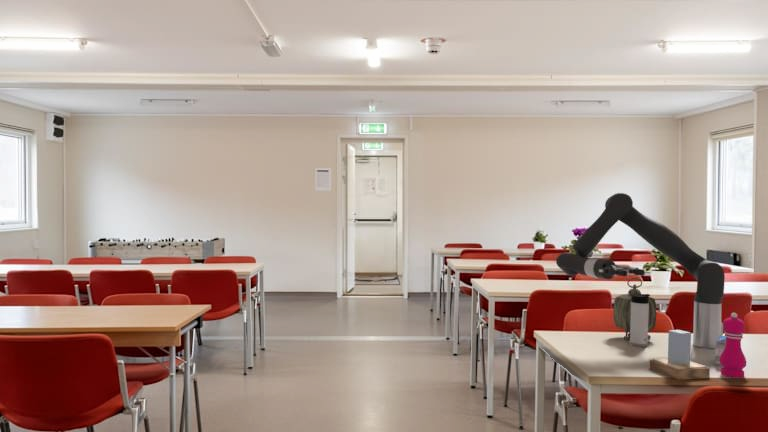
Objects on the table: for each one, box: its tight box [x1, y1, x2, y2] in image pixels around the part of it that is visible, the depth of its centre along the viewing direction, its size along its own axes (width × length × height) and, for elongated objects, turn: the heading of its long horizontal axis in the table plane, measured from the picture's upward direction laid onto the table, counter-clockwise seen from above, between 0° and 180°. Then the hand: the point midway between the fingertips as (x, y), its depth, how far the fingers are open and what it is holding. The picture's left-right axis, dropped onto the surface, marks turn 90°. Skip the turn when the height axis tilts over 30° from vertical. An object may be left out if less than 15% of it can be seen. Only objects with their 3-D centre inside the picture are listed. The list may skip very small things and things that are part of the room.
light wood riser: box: [649, 357, 711, 381], centre depth 176 cm, size 12×12×3 cm
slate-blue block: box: [667, 329, 692, 365], centre depth 175 cm, size 4×4×10 cm
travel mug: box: [629, 293, 651, 348], centre depth 213 cm, size 6×7×20 cm
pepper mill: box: [720, 312, 747, 379], centre depth 175 cm, size 7×7×20 cm
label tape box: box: [714, 336, 726, 367], centre depth 189 cm, size 9×4×12 cm, turn 141°
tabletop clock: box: [612, 277, 657, 341], centre depth 225 cm, size 14×9×25 cm, turn 104°
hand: (635, 273), depth 193 cm, fingers open, 8 cm apart
